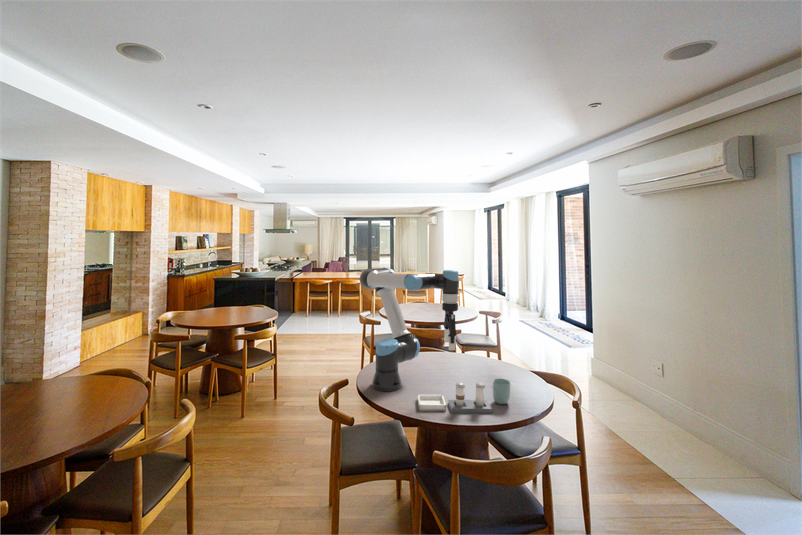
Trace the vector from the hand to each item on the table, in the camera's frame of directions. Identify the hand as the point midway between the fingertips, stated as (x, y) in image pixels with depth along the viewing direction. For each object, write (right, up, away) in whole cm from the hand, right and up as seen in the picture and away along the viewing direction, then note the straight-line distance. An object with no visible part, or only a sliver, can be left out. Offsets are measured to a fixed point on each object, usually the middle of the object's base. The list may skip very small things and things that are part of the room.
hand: (449, 346), depth 169 cm
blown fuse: (+3, -25, -12) cm, 28 cm away
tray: (-9, -25, -9) cm, 28 cm away
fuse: (+12, -25, -11) cm, 30 cm away
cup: (+24, -26, -5) cm, 35 cm away
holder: (+8, -25, -12) cm, 29 cm away
